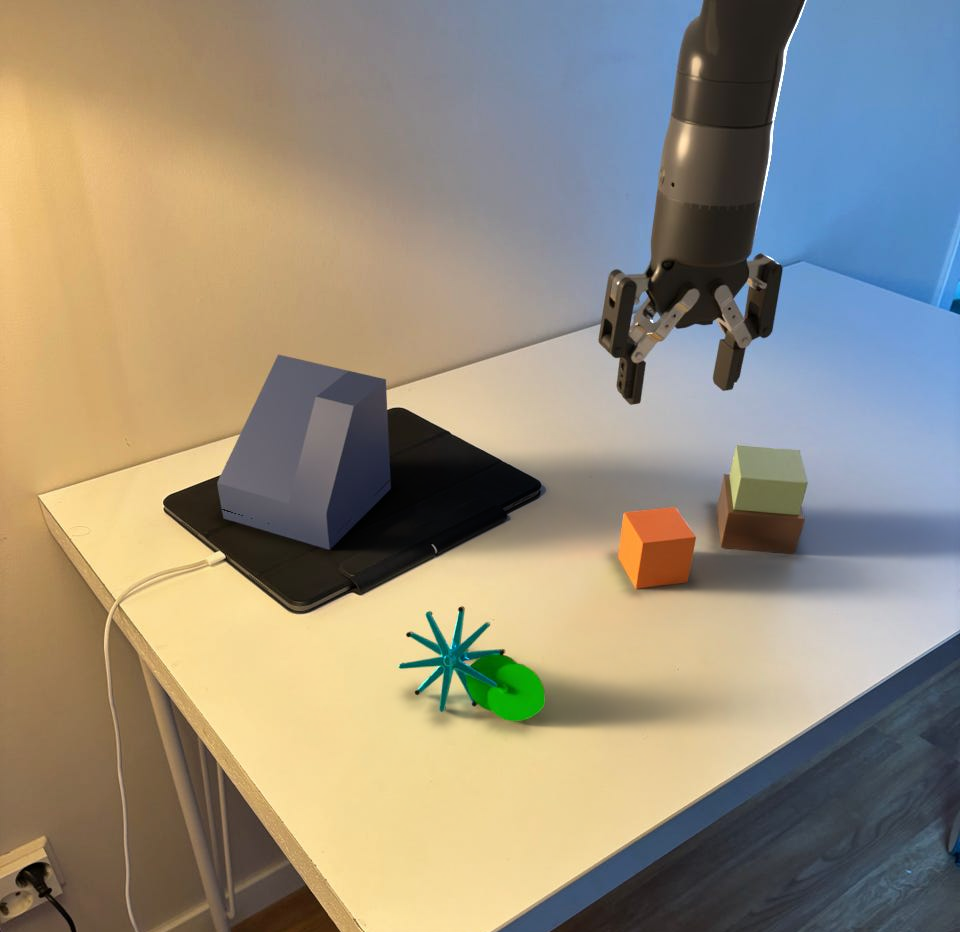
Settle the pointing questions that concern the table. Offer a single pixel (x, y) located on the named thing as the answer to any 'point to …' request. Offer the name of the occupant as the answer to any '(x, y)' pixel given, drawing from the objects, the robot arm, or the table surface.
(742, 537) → the walnut block
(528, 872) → the table surface
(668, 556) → the toy cube
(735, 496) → the green block
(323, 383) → the phone stand
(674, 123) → the robot arm
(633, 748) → the table surface
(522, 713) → the stick construction toy
